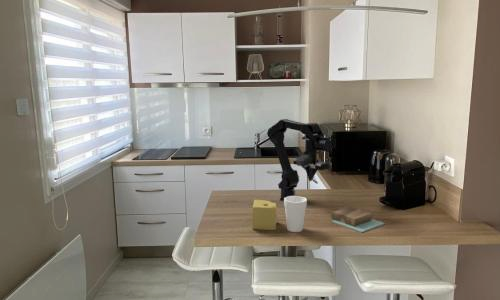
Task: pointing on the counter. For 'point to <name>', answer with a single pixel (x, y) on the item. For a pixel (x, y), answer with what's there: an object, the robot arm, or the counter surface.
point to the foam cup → (295, 212)
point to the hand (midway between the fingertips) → (310, 180)
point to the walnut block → (351, 216)
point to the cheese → (264, 215)
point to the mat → (362, 225)
